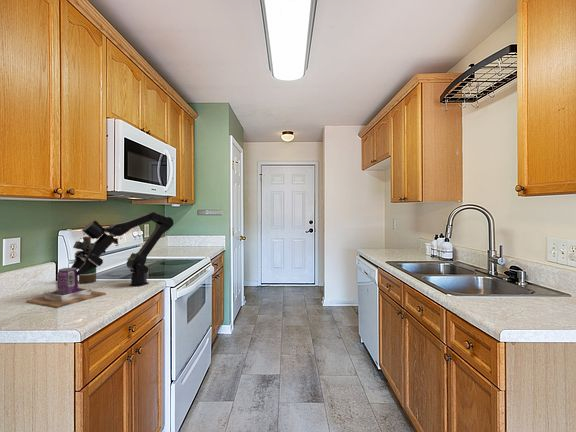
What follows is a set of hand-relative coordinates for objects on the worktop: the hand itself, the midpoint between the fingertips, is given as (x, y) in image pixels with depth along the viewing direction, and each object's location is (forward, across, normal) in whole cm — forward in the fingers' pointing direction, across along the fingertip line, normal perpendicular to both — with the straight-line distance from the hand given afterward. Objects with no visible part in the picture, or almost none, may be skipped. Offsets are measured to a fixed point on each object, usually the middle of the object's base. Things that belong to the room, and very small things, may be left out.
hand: (73, 273), depth 131 cm
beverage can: (+9, +1, +5) cm, 10 cm away
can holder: (+9, 0, +6) cm, 10 cm away
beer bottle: (-2, -27, +17) cm, 32 cm away
